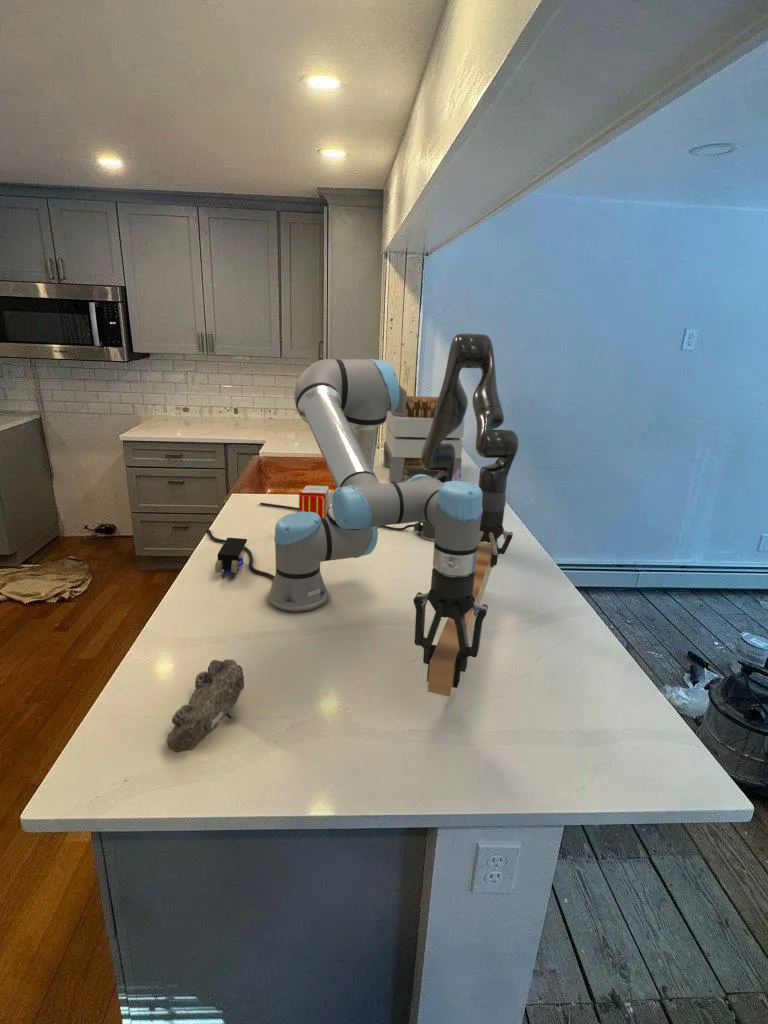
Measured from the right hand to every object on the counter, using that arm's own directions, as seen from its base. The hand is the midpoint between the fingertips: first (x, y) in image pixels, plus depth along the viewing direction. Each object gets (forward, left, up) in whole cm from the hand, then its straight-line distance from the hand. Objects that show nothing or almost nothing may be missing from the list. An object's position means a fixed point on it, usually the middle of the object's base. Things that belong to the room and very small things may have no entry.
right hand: (483, 564), depth 154 cm
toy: (-76, +17, -10) cm, 79 cm away
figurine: (-44, +66, -10) cm, 80 cm away
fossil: (-18, -76, -10) cm, 79 cm away
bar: (+8, -25, -2) cm, 26 cm away
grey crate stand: (-80, +96, -10) cm, 126 cm away
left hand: (+16, -50, -2) cm, 52 cm away
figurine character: (-65, -32, -10) cm, 73 cm away
